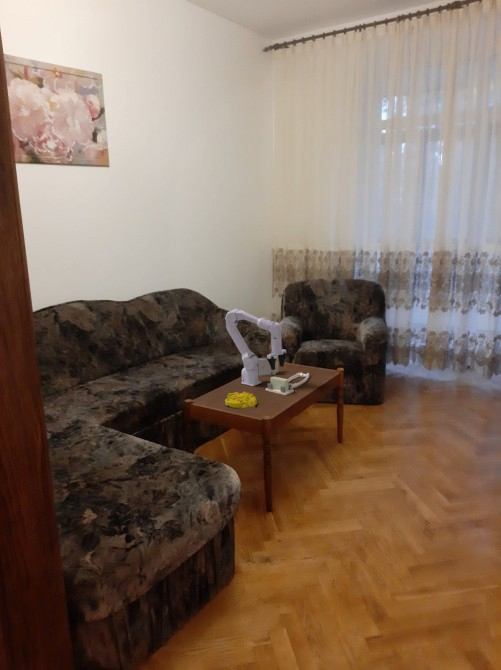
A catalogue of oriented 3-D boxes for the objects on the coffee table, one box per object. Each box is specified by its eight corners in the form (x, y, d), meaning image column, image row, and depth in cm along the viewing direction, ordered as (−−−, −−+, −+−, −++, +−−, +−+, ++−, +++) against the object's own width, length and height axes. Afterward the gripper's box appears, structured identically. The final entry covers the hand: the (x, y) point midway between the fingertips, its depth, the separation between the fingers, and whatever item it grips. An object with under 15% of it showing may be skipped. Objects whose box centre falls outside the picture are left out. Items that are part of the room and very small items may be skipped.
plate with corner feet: (265, 390, 273) (265, 383, 272) (273, 386, 278) (273, 380, 277) (285, 395, 264) (285, 388, 263) (293, 391, 269) (293, 384, 268)
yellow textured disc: (223, 409, 250) (223, 401, 249) (227, 397, 266) (226, 390, 265) (256, 408, 249) (256, 400, 248) (258, 397, 265) (257, 389, 264)
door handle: (313, 376, 294) (296, 390, 272) (297, 375, 298) (280, 388, 277) (313, 372, 293) (296, 385, 272) (297, 370, 298) (279, 383, 276)
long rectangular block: (270, 388, 273) (270, 377, 272) (274, 386, 275) (273, 376, 274) (285, 391, 266) (284, 380, 265) (288, 390, 269) (288, 379, 267)
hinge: (278, 371, 306) (277, 355, 304) (280, 374, 301) (280, 358, 299) (256, 374, 303) (255, 358, 300) (258, 376, 298) (257, 360, 295)
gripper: (273, 348, 268) (274, 372, 271) (290, 342, 278) (290, 366, 281) (263, 346, 273) (264, 370, 276) (280, 341, 283) (281, 364, 286)
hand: (277, 368), depth 279 cm, fingers open, 7 cm apart
